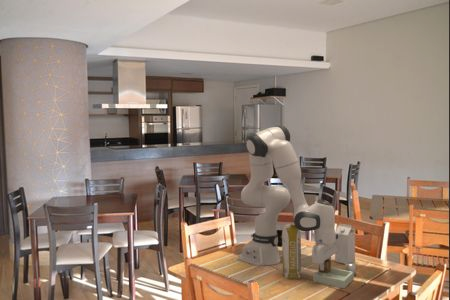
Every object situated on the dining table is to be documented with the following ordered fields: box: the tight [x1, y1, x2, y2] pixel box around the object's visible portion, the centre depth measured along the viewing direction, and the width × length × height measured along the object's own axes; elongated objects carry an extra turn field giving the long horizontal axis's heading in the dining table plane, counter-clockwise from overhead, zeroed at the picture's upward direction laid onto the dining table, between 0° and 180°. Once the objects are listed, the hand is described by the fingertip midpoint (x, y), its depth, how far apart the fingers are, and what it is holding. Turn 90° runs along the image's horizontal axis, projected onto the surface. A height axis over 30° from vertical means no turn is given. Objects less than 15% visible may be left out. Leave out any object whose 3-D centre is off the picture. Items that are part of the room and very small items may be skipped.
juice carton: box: [281, 223, 302, 279], centre depth 183 cm, size 9×8×24 cm
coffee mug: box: [277, 225, 284, 248], centre depth 229 cm, size 12×9×10 cm
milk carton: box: [334, 222, 356, 265], centre depth 199 cm, size 7×7×19 cm
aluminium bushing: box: [345, 262, 357, 277], centre depth 183 cm, size 4×4×5 cm
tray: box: [312, 267, 355, 289], centre depth 177 cm, size 14×12×3 cm
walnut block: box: [318, 259, 332, 274], centre depth 178 cm, size 4×4×5 cm
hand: (325, 268), depth 178 cm, fingers closed on walnut block, 4 cm apart
